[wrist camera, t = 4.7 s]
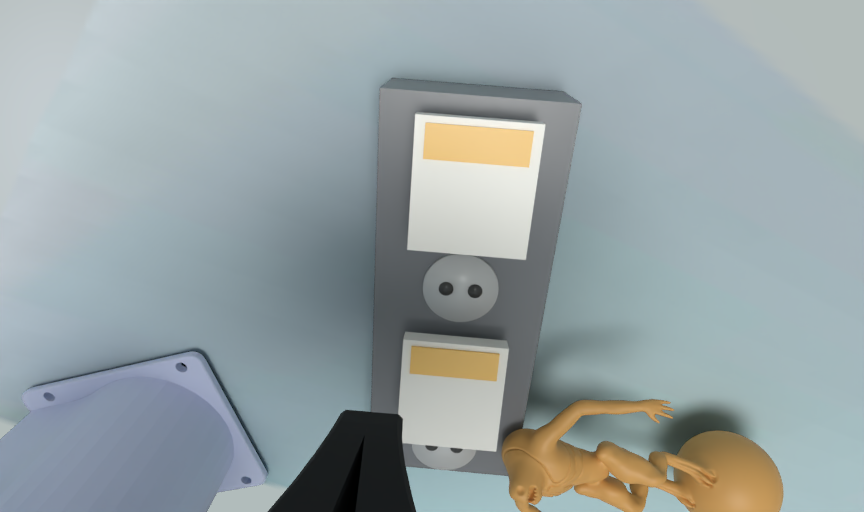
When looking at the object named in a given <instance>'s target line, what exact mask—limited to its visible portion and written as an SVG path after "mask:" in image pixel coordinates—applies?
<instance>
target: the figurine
mask: <svg viewBox="0 0 864 512" xmlns="http://www.w3.org/2000/svg"><path fill="white" fill-rule="evenodd" d="M664 403H665V404H670V402H668V401H664V400H655V399H651V400H642V401H624V400H607V401H598V400H579V401H576V402H574V403H573V404H571V405H570V406H568V407H567V408H566V409H565V410H563V411H562V412H561V413H560V414H558V415H557V416H556V417H555V418H554V419H553V420H552V421H551V422H549V423H548V424H546V425H544V426H542V427H540V428H538V429H537V430H534V429H519V430H516V431H514V432H512V433H511V434H509V435H508V436H507V437H506V438H505V440H504V442H503V446H502V452H501V455H502V459H503V462H504V464H505V467H506V470H507V472H508V475H509V481H510V484H509V494H510V496H511V498H512V499H514V500H515V503H516V506H517V507H518V509H519V510H520V511H521V512H541V511H540V510H538V509H537V508H536V507H534V506H533V505H530V504H529V503H532V504H534V505H535V504H537V503H538V502H539V501H540V500H541V498H542V496H546V497H553V496H558V495H560V494H561V493H564V492H566V491H568V490H569V489H571V488H572V487H573V486H574V489H575V491H576V492H577V493H578V494H581V495H586V496H588V497H592V498H597V499H600V500H602V501H604V502H606V503H608V504H610V505H612V506H614V507H617V508H619V509H621V510H622V511H624V512H642V511H643V509H644V507H645V503H646V497H647V494H648V487H656V488H659V489H661V490H664V491H666V492H668V493H670V494H672V495H674V496H675V497H677V499H678V500H679V501H680V502H681V503H682V504H684V505H685V506H686V508H687V509H688V510H689V511H690V512H779V511H780V508H781V506H782V502H783V484H782V480H781V476H780V473H779V471H778V469H777V467H776V465H775V463H774V462H773V460H772V459H771V458H770V456H769V455H768V454H767V453H766V452H765V451H764V450H763V449H762V448H761V447H760V446H758V445H757V444H756V443H754V442H753V441H751V440H750V439H748V438H746V437H744V436H742V435H739V434H736V433H733V432H728V431H708V432H703V433H700V434H698V435H696V436H694V437H692V438H691V439H689V440H688V441H687V442H686V443H685V444H684V445H683V446H682V447H681V449H680V450H679V452H678V454H677V456H676V455H674V454H671V453H668V452H658V451H654V452H651V453H650V455H649V461H647V460H646V459H644V458H643V457H641V456H639V455H637V454H634V453H632V452H630V451H628V450H626V449H624V448H621V447H619V446H617V445H615V444H614V443H612V442H609V441H604V442H601V443H600V444H599V445H598V446H597V450H596V451H595V452H589V451H586V450H584V449H580V448H576V447H574V446H572V445H570V444H568V443H565V442H563V441H561V440H559V439H560V438H561V437H562V436H563V435H564V434H565V433H566V432H567V431H568V430H569V429H570V428H571V427H572V426H573V425H574V424H575V423H576V422H577V421H578V419H579V418H580V417H581V416H583V415H596V414H627V413H634V412H640V411H643V412H646V413H647V414H648V416H649V417H650V418H651V419H652V420H654V421H655V422H657V423H660V422H659V421H658V420H657V419H656V418H655V414H658V415H661V416H665V417H668V418H671V419H673V417H672V416H670V415H668V414H666V413H664V412H663V411H662V410H670V411H674V409H672V408H670V407H667V406H663V405H662V404H664ZM668 465H670V466H672V467H674V481H671V480H667V466H668ZM609 472H610V473H611V474H612V475H614V476H615V477H616V478H617V479H616V478H614V477H611V476H608V475H609ZM621 481H622V482H621ZM623 482H624V483H628V484H630V490H631V493H632V494H631V493H630V492H628V491H627V488H626V486H625V485H624V484H623Z"/></svg>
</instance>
